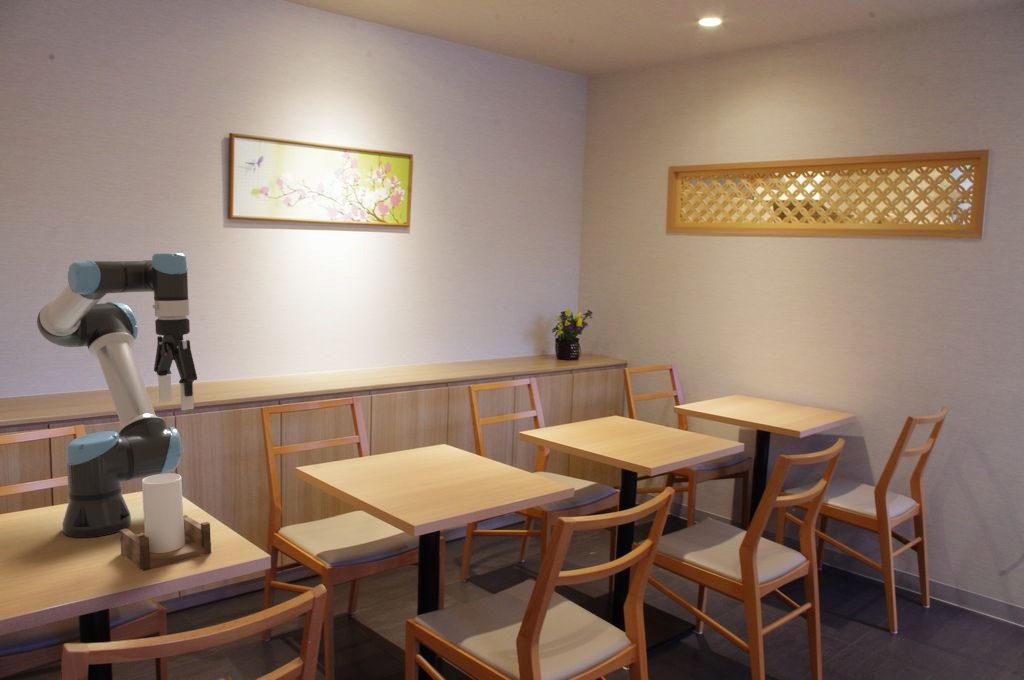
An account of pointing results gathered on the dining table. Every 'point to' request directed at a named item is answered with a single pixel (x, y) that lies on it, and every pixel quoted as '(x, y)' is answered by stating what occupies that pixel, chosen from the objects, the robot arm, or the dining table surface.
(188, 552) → the tray
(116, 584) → the dining table surface
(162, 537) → the cup
